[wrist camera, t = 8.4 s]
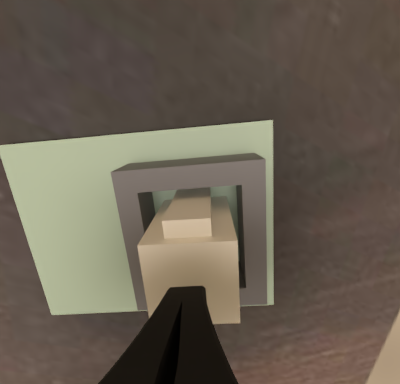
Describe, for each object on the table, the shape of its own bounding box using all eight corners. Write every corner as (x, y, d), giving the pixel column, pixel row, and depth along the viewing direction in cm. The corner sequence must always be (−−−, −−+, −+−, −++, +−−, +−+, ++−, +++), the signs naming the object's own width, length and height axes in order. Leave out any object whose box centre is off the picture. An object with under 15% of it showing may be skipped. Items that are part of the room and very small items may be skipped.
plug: (228, 251, 16) (240, 323, 10) (171, 254, 16) (150, 325, 10) (225, 183, 15) (236, 221, 9) (163, 187, 15) (134, 227, 9)
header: (270, 296, 18) (285, 338, 14) (58, 307, 19) (24, 348, 15) (269, 120, 14) (289, 118, 11) (7, 144, 15) (-52, 150, 12)
